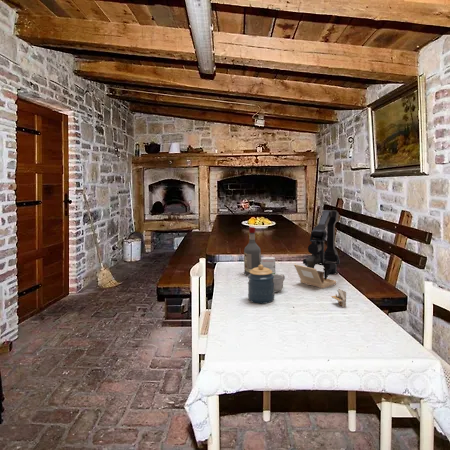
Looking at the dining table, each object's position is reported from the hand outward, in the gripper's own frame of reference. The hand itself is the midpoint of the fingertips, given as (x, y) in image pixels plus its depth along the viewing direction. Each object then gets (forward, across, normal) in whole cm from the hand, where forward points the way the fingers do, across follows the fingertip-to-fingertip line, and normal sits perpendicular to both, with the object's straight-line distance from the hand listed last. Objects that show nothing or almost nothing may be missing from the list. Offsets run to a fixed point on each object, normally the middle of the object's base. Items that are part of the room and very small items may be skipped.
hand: (318, 277), depth 193 cm
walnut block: (+2, 0, 0) cm, 3 cm away
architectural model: (+4, +29, -21) cm, 36 cm away
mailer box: (+3, 0, 0) cm, 3 cm away
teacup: (+3, -7, -28) cm, 29 cm away
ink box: (+3, -29, -12) cm, 31 cm away
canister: (+3, -1, -44) cm, 44 cm away
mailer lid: (-4, 0, -9) cm, 10 cm away
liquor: (+3, -39, -16) cm, 42 cm away
